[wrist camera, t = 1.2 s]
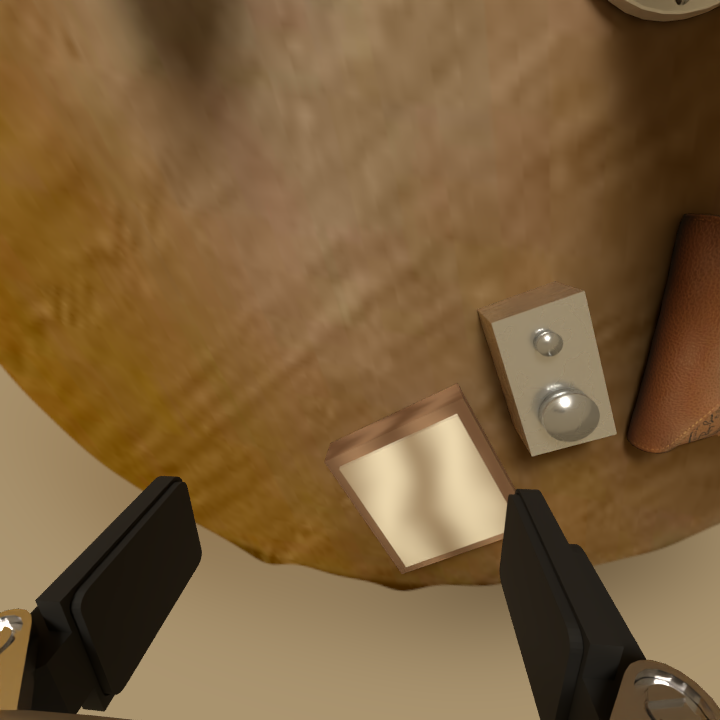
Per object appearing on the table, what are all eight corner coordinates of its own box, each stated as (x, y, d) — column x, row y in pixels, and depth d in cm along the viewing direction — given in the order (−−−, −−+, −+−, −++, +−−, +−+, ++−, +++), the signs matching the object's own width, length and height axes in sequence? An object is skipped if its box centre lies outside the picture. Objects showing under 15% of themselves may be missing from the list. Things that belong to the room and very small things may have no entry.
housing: (553, 281, 28) (593, 293, 22) (584, 403, 31) (626, 443, 25) (476, 308, 30) (495, 327, 24) (512, 424, 33) (537, 466, 27)
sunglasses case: (731, 441, 31) (746, 484, 26) (628, 419, 35) (624, 451, 30) (811, 209, 25) (852, 204, 20) (677, 214, 29) (682, 211, 24)
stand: (457, 383, 32) (464, 400, 28) (523, 504, 35) (536, 531, 32) (330, 443, 35) (323, 464, 32) (401, 548, 38) (401, 577, 35)
